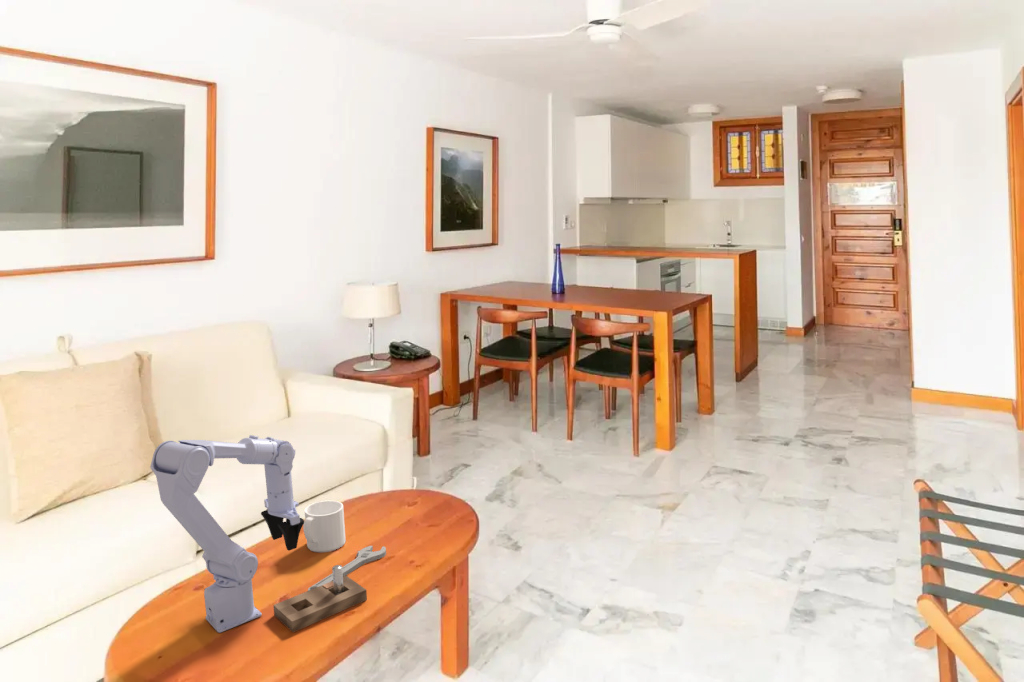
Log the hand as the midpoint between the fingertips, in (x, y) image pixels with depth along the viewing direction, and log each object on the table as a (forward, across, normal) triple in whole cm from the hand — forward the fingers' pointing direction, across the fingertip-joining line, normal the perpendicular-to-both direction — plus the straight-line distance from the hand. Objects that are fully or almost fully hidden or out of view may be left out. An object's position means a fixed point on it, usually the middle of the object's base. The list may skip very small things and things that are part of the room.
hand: (284, 543), depth 165 cm
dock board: (+10, -15, -1) cm, 18 cm away
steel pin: (+10, -15, -5) cm, 19 cm away
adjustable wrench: (+11, -4, -13) cm, 18 cm away
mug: (+11, +12, -16) cm, 22 cm away
